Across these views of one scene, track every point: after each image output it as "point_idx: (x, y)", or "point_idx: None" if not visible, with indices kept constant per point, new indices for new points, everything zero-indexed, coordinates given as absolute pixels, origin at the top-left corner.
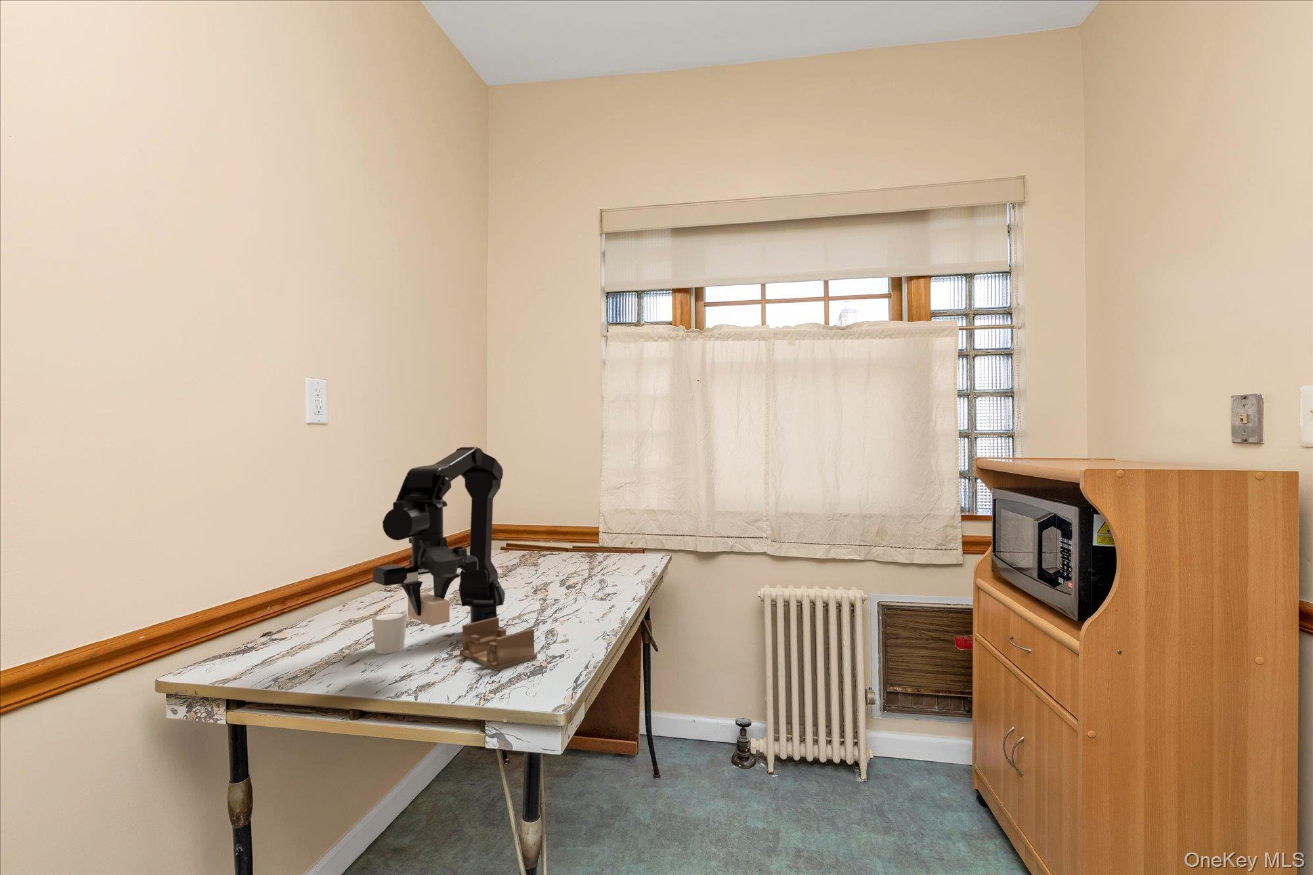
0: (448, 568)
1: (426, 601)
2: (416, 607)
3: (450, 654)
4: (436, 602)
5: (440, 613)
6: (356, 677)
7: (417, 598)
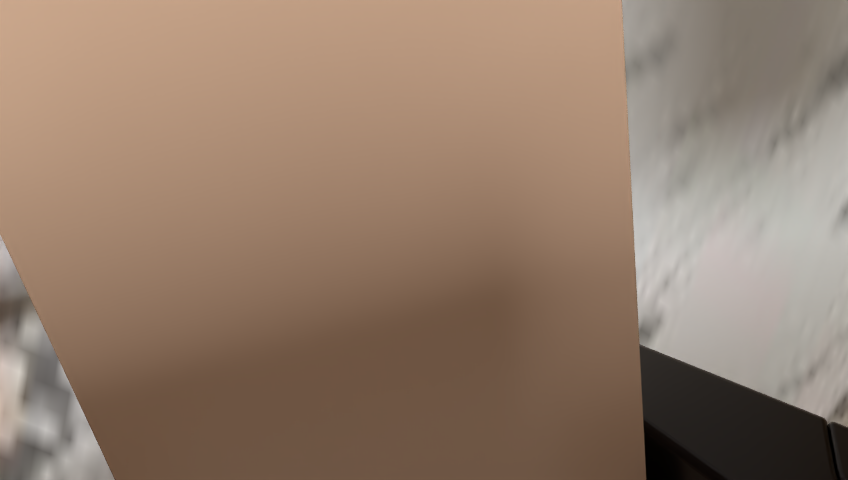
0: None
1: (588, 332)
2: (675, 365)
3: (46, 377)
4: (404, 29)
5: None
6: (710, 245)
7: (811, 453)
